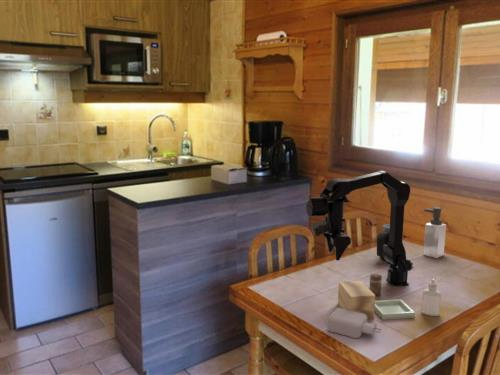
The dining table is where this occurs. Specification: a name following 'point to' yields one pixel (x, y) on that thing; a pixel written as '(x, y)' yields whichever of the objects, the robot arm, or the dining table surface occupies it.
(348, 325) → the grey plastic bottle
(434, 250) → the soap dispenser
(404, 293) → the dining table surface
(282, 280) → the dining table surface
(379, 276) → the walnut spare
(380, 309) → the green tray
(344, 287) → the pine unit
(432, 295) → the eye dropper bottle
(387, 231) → the milk frother
